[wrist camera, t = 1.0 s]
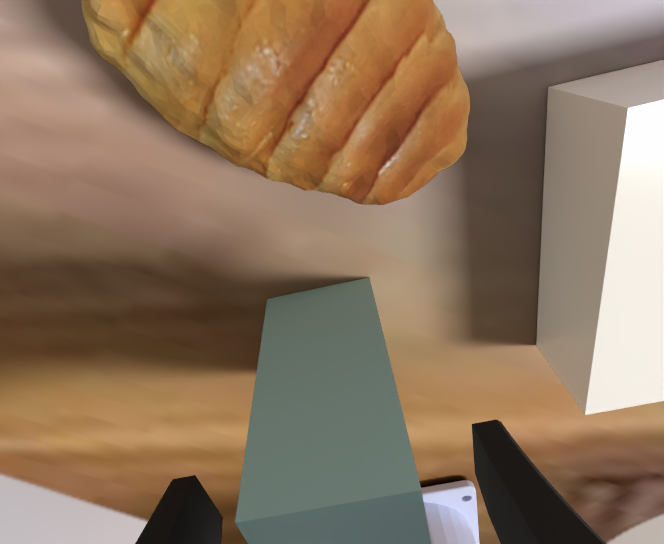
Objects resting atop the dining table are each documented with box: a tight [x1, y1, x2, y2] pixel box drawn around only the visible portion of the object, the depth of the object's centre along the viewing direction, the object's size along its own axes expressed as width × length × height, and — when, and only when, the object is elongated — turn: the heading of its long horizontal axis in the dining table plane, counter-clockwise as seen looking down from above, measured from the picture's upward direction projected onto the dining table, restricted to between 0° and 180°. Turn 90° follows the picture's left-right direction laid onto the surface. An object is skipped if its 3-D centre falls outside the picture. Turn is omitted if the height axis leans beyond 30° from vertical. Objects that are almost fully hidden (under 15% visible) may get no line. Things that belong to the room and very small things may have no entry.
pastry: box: [81, 0, 470, 205], centre depth 10 cm, size 9×7×4 cm
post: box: [235, 277, 431, 544], centre depth 13 cm, size 4×4×8 cm
